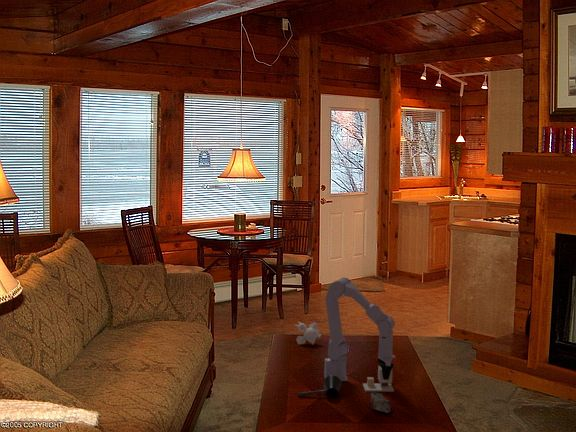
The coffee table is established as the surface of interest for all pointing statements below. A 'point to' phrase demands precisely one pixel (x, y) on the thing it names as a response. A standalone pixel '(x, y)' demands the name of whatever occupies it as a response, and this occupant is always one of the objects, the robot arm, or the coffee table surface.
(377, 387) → the grey board
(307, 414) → the coffee table surface
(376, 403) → the mineral rock
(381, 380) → the beige block
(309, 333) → the character figurine
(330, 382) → the coffee pot
